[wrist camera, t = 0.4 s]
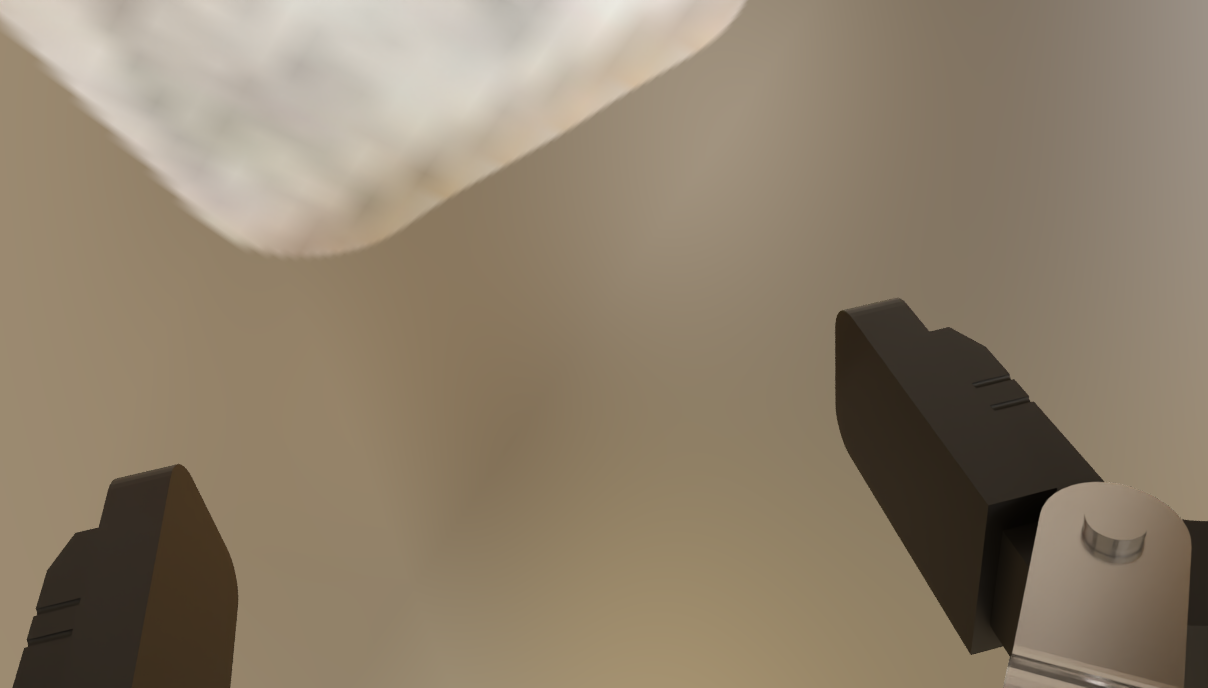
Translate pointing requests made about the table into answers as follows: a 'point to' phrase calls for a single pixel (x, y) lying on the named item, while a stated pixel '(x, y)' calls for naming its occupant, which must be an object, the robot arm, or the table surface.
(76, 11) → the table surface
